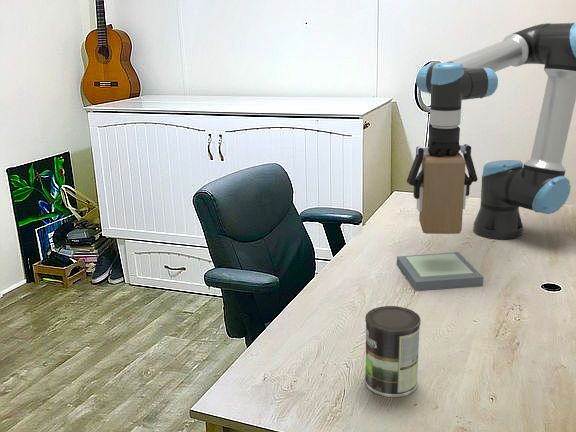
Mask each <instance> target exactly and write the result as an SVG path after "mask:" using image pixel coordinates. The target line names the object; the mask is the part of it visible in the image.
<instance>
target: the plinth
mask: <svg viewBox="0 0 576 432" xmlns="http://www.w3.org/2000/svg"><path fill="white" fill-rule="evenodd" d="M396 266H397V267H398V269H399V270H400V271H401V273H402V274H403V276H404V277H405V278H406V279H407V282H409V284H410V285H411V287H412V288H413V290H414V291H415V292H419V291H432V290H433V291H435V290H442V289H445V290H446V289H448V290H449V289H457V288H458V289H461V288H471V287H483V286H484V276H483V275H482V274H481V273H480V272H479V271H478V270H477V269H476V268H475V266H473V265H472V264H471V263H470V262H469V261H468V260H467V259H466V258H465V257H464V256H463V255H462V254H461V253H460V252H458V251H457V252H444V253H443V252H441V253H429V254H428V253H426V254H411V255H399V256H398V255H397V256H396Z"/></svg>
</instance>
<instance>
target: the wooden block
mask: <svg viewBox="0 0 576 432" xmlns="http://www.w3.org/2000/svg"><path fill="white" fill-rule="evenodd" d="M422 168H423V171H424V181H423V183H422V184H421V186H422V187H423V207H422V212H419V219H418V221H419V223H420V227H421V230H422V232H423V234H427V235H429V234H430V235H431V234H433V235H434V234H435V235H440V234H441V235H458V234H460V233H461V232H462V230H463V229H462V228H463V213H464V211H463V210H464V209H463V199H464V182H465V173H466V162H465V159H464V156H463V154H462V153H460V151H459V152H458V154H457V155H456V156H441V157H435V156H431V155H430V154H429V153H428V152H426V155H425V156H423V160H422V163H421V166H420V171H421V170H422Z"/></svg>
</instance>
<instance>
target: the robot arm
mask: <svg viewBox="0 0 576 432" xmlns="http://www.w3.org/2000/svg"><path fill="white" fill-rule="evenodd" d="M531 64H532V65H533V64H534V65H536V64H537V65H544V68H543V71H544V73H545V74H546V75H547V80H546V85H545V89H544V90H545V91H544V95H543V99H542V104H541V109H540V113H539V118H538V123H537V128H536V132H535V136H534V142H533V146H532V151H531V155H530V158H529V159H528V160H526V161H525V162H524V163H523V162H522V161H521V160H517V159H515V160H514V159H503V160H493V161H490V162H487V163H485V164H484V165H483V167H482V174H481V190H480V207H479V210H478V211H477V214H476V217H475V218H474V219H475V220H474V221H473V227H472V229H473V233H475V234H476V235H478V236H481V237H483V238H488V239H495V240H513V239H516V238H517V239H518V238H519V237H521V236H522V235H523V234H524V233H523V232H524V230H523V229H524V225H523V221H522V217H521V213H520V208H522V209H527V210H530V211H533V212H535V213H542V214H546V215H551V214H554V213H556V212H558V211H559V210H560V209H561V208H562V207H564V205H565V203H566V202H567V201H568V199H569V197H570V193H571V182H570V180H569V178H568V177H566V176H565V175H566V172H567V171H566V168H565V167H564V166H563V163H562V162H563V159H564V153H565V149H566V144H567V141H568V136H569V131H570V127H571V122H572V119H573V117H572V116H573V113H574V109H575V104H576V22H568V23H567V22H565V23H563V22H562V23H561V22H560V23H552V22H551V23H548V22H547V23H541V24H536V25H532V26H529V27H526V28H524V29H522V30H519V31H516V32H513V33H510V34H508V35H506V36H505V37H504V39H503V40H501V41H499V42H497V43H494V44H492V45H489V46H485V47H484V48H481V49H478V50H476V51H474V52H473V51H472V52H470V53H468V54H466V55H463V56H460V57H458V58H455V59H452V60H450V61H447V62H438V63H435V64H429V65H424V66H422V67H421V68H419V69H418V72H417V74H416V78H415V80H416V81H415V82H416V86H417V88H418V89H419V91H421V92H422V93H425V94H430V111H429V114H430V115H429V125H430V127H429V128H428V129H429V131H428V135H429V136H428V144H427V146H424V147H421V146H417V147H416V150H415V158H414V160H413V163H412V165H411V167H410V168H411V169H410V171H409V173H408V176H407V179H406V182H407V184H408V185H410V186H413V194H412V195H413V198H414V199H415V200H416V208H415V209H416V210H417V211H418V212H419V213H420V212H422V207H423V187H422V186H421V184H422V183H423V181H424V171H423V168H422V170H421V163H422V160H423V156H425V155H426V152H428V153H429V154H430V155H431V156H435V157H441V156H456V155H457V154H458V152H459V153H460V152H461V153H460V154H462V157H463V158H464V159H465V162H466V166H465V168H466V169H467V170H466V171H467V173H468V175H467V173H466V172H465V182H464V199H463V210H466V200H467V199H466V197H468V196H469V195H470V190H471V189H470V188H471V186H472V183H476V182H477V181H478V176H477V172H476V168H475V165H474V161H473V158H472V155H471V154H472V147H471V145H468V144H467V143H464V145H463V144H462V145H461V144H460V136H461V135H460V134H461V133H460V132H461V128H460V125H461V120H462V119H461V118H462V117H461V115H462V101H465V100H466V101H467V100H473V99H474V100H475V99H484V98H487V97H490V96H493V95H494V94H495V92H496V91H497V90H498V89H497V88H498V86H499V85H498V84H499V77H498V75H497V73H496V72H499V71H501V70H503V69H506V68H509V67H521V66H523V65H531Z"/></svg>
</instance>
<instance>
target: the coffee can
mask: <svg viewBox="0 0 576 432" xmlns="http://www.w3.org/2000/svg"><path fill="white" fill-rule="evenodd" d="M364 321H365V369H364V370H365V375H364V376H365V377H364V384H365V386H366V387H367V388H368V390H369V391H371V392H372V393H374V394H376V395H379V396H382V397H387V398H401V397H405V396H409V395H410V394H412V393H413V392H415V391H416V389H417V388H418V386H419V385H418V374H419V372H418V370H419V369H418V368H419V351H420V350H419V348H420V326H421V321H422V320H421V317H420V315H419V314H418V313H417V312H415V311H414V310H412V309H409V308H407V307H404V306H398V305H397V306H396V305H384V306H383V305H382V306H379V307H374V308H372V309H370V310H369V311H368V312H367V313H366V314H365V320H364Z"/></svg>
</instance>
